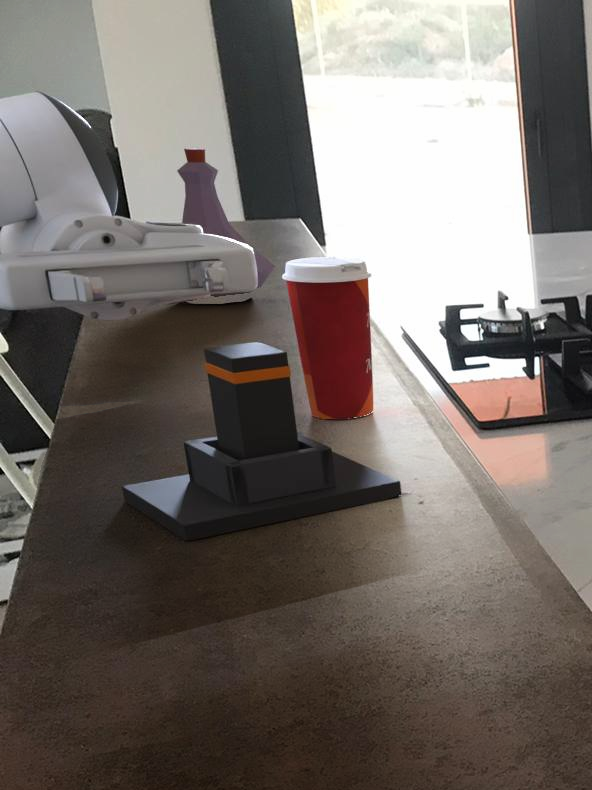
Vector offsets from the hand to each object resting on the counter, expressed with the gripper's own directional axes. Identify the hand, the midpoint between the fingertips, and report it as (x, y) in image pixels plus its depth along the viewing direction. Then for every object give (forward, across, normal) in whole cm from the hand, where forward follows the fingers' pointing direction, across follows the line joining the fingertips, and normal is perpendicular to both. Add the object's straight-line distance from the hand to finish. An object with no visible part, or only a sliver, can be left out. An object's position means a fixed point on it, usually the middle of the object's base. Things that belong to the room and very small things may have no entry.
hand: (159, 285), depth 101 cm
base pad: (+15, 0, +14) cm, 21 cm away
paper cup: (-6, +17, +14) cm, 23 cm away
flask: (-78, +34, +14) cm, 86 cm away
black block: (+15, 0, +13) cm, 20 cm away
